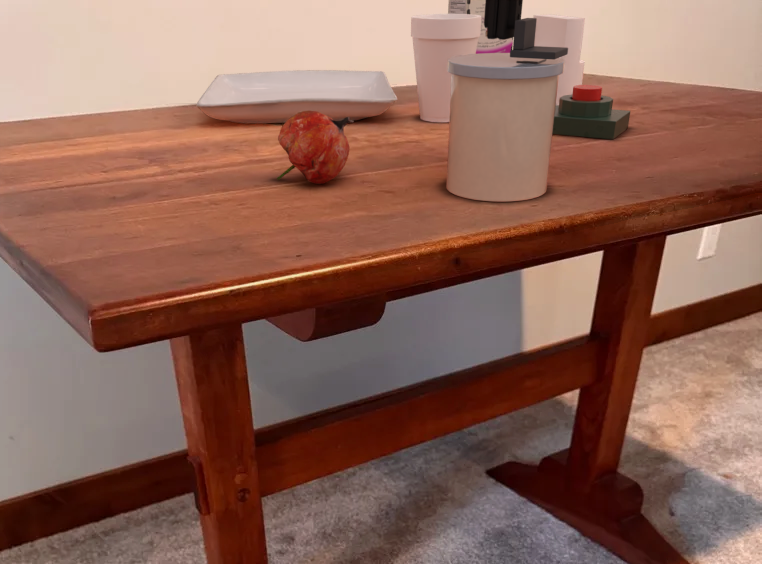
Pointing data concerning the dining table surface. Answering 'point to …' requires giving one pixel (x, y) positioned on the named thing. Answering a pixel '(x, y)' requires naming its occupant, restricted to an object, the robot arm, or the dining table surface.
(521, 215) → the dining table surface
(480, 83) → the travel mug
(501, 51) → the candy bar box
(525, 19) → the slider
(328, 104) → the square plate
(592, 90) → the button
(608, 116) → the box
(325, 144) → the pomegranate
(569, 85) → the white tapered box
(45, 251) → the dining table surface
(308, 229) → the dining table surface
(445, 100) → the foam cup
